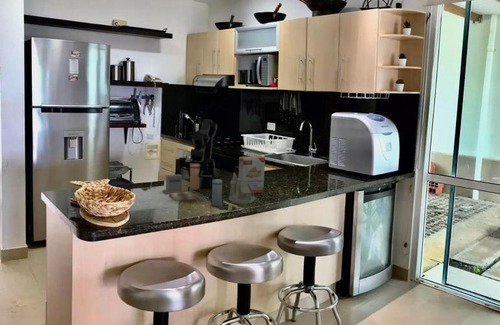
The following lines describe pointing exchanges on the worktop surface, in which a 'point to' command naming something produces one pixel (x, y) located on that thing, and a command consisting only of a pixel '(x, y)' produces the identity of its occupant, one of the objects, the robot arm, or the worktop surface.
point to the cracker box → (252, 171)
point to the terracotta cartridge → (194, 175)
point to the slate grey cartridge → (217, 192)
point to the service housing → (173, 184)
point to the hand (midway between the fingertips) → (194, 176)
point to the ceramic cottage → (241, 191)
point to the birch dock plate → (182, 196)
